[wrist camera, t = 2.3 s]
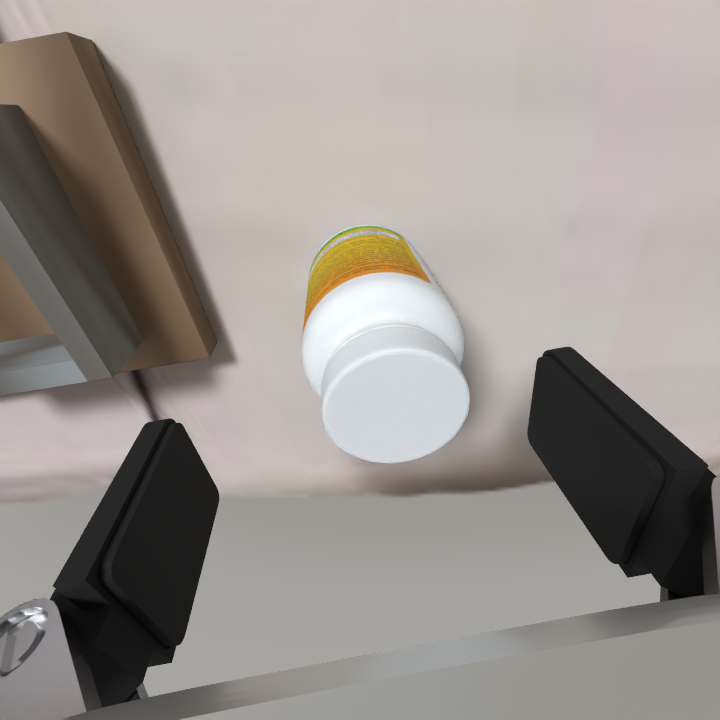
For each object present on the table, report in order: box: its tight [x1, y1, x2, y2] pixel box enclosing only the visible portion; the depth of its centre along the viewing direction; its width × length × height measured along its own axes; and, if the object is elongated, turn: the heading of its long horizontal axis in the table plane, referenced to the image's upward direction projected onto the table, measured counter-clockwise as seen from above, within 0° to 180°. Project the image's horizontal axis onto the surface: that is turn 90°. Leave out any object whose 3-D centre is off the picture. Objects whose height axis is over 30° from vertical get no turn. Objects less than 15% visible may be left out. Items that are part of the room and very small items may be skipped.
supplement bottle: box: [302, 224, 470, 463], centre depth 14 cm, size 5×5×10 cm
